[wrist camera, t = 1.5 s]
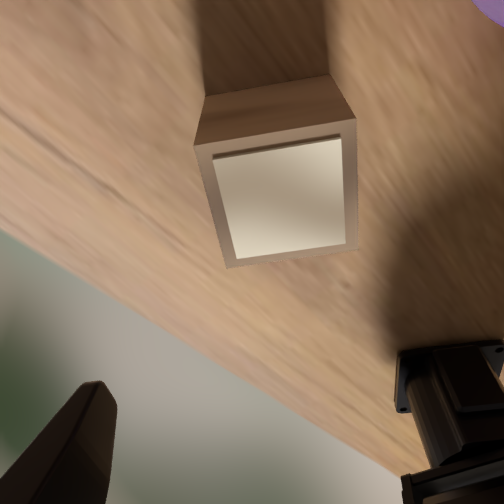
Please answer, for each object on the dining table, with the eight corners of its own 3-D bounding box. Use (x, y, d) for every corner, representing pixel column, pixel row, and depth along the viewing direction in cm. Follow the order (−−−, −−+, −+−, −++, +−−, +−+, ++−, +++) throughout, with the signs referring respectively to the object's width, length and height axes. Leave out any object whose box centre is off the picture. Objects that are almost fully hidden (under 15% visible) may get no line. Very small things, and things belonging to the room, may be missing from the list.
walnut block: (335, 185, 19) (359, 252, 15) (230, 201, 20) (226, 271, 16) (329, 73, 16) (357, 119, 12) (205, 95, 17) (192, 147, 13)
